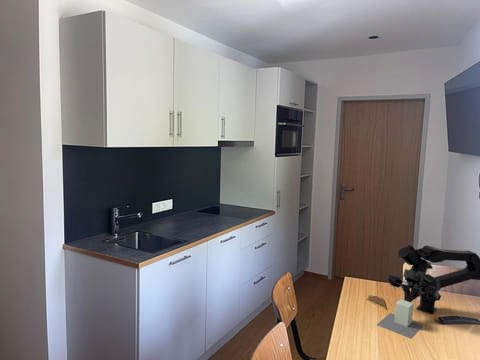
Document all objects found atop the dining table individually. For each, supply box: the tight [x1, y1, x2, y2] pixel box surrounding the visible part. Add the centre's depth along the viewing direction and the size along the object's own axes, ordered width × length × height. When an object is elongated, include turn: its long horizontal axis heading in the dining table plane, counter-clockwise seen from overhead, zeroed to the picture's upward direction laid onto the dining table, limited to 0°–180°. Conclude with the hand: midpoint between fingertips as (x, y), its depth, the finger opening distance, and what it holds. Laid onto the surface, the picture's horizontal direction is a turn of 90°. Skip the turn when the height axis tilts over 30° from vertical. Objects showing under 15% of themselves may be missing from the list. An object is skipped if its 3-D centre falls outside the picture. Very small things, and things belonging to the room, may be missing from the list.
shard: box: [365, 294, 387, 310], centre depth 155 cm, size 11×8×2 cm
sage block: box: [394, 298, 414, 327], centre depth 138 cm, size 5×5×8 cm
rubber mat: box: [376, 312, 425, 340], centre depth 136 cm, size 14×13×1 cm
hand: (405, 304), depth 140 cm, fingers closed
